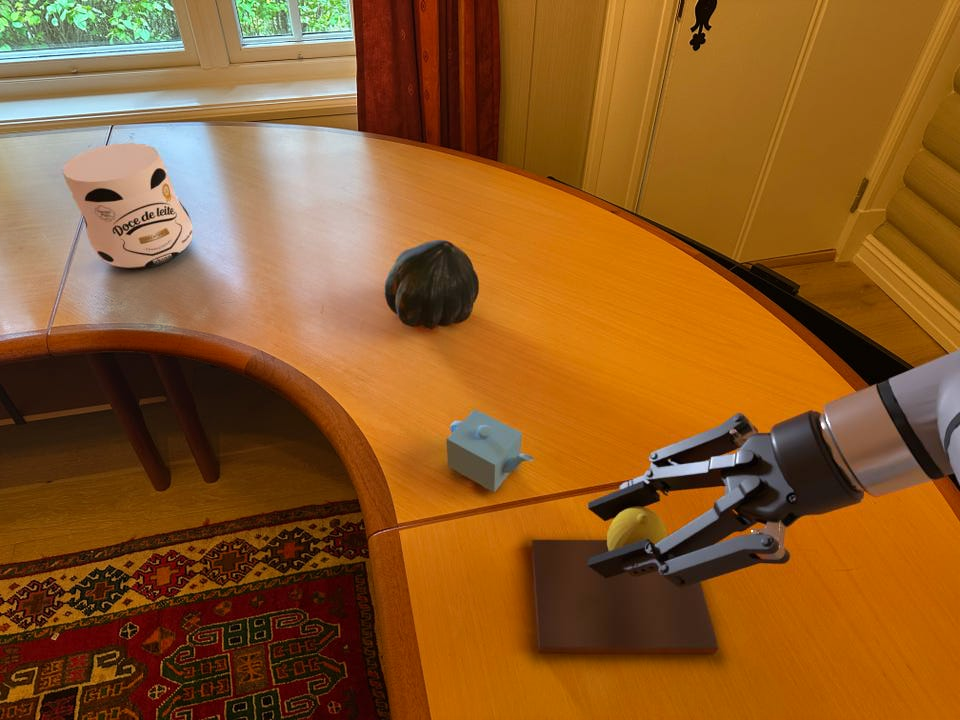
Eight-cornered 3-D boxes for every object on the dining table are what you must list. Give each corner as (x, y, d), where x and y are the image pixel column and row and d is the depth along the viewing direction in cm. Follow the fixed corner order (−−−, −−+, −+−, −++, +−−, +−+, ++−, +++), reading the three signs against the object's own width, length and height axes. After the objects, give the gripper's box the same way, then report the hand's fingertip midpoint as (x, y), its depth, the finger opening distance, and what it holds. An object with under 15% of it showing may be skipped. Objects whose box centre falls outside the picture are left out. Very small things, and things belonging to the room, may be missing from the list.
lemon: (626, 526, 64) (639, 481, 58) (669, 563, 61) (687, 520, 55) (590, 557, 61) (601, 514, 56) (633, 598, 58) (649, 556, 52)
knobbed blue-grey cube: (542, 476, 78) (546, 438, 72) (517, 510, 74) (520, 472, 69) (465, 435, 83) (464, 397, 77) (438, 465, 79) (436, 427, 74)
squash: (364, 272, 101) (387, 240, 88) (441, 248, 108) (473, 215, 94) (397, 350, 101) (424, 330, 87) (472, 321, 107) (509, 299, 94)
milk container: (167, 282, 108) (127, 189, 96) (80, 272, 111) (30, 180, 98) (214, 231, 121) (184, 144, 108) (136, 223, 123) (97, 136, 111)
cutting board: (686, 546, 70) (689, 540, 69) (715, 653, 62) (719, 648, 61) (531, 546, 70) (532, 539, 69) (538, 653, 62) (539, 647, 61)
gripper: (908, 588, 41) (623, 651, 54) (831, 392, 54) (617, 480, 67) (859, 538, 38) (569, 617, 51) (790, 343, 51) (574, 445, 64)
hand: (597, 539), depth 59 cm, fingers closed on lemon, 5 cm apart
